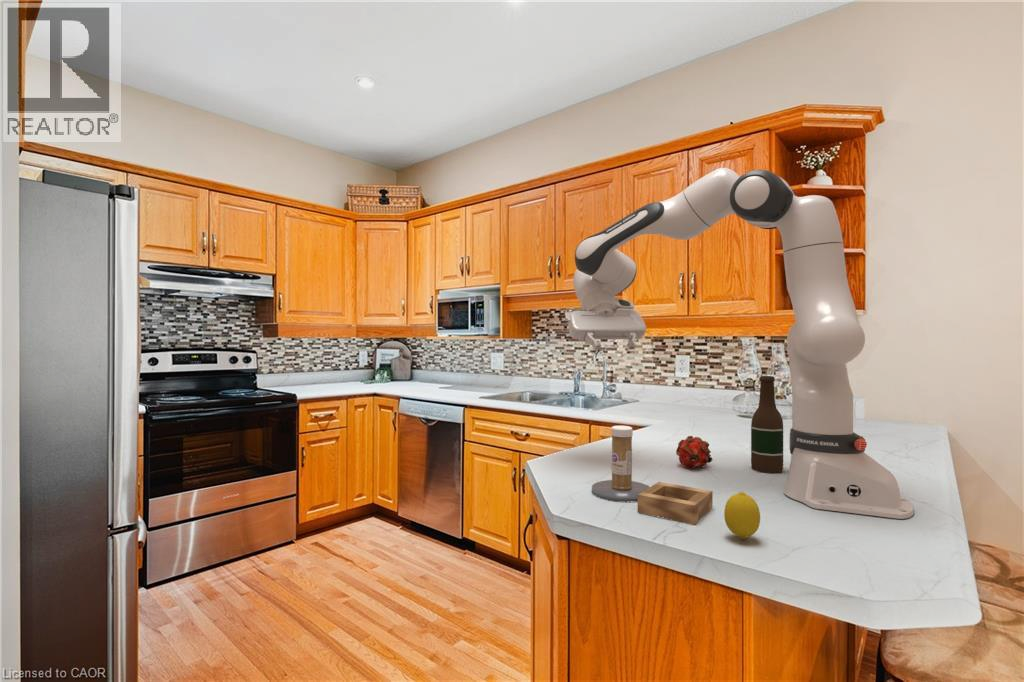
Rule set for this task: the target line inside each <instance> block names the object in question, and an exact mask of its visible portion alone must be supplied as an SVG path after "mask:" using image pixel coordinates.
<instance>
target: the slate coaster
mask: <svg viewBox="0 0 1024 682" xmlns="http://www.w3.org/2000/svg"><path fill="white" fill-rule="evenodd" d="M611 484H612V479H606V480H600V481H597V482H595V483H593V484H591V493H592V495H593V496H595V495H596V496H595V497H596V498H599V497H600V499H602V498H603V499H602V500H605V499H608V500H607V501H610V500H613V501H612V502H617V501H625V502H624V503H631V502H630V501H638V494H639V493H641V492H643V491H644V490H646V489H648V488H649V487H650V485H648V484H645V483H642V482H638V481H633V480H632V488H631V489H629V490H616V489H614V488H612V486H611ZM627 501H629V502H627Z"/></svg>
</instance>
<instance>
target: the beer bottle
mask: <svg viewBox="0 0 1024 682" xmlns="http://www.w3.org/2000/svg"><path fill="white" fill-rule="evenodd" d="M759 381H760V383H759V384H760V386H759V388H760V389H759V399H758V400H759V402H758V406H757V407H758V408H757V409H756V410H755V411H754V412H753V415H752V418H751V423H750V425H751V426H750V433H751V434H750V464H751V465H750V466H751V470H753V471H756V472H758V473H763V474H773V475H774V474H781V473H782V472H783V470H784V420H783V417H782V415H781V413H780V411H779V410H778V408H777V406H776V396H775V381H776V379H775V376H773V375H762V376H760V378H759Z"/></svg>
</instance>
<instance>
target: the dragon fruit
mask: <svg viewBox="0 0 1024 682" xmlns="http://www.w3.org/2000/svg"><path fill="white" fill-rule="evenodd" d="M709 447H710V443H709V442H708V441H706V440H703V439H702V438H701V437H699V436H698V437H697V436H695V437H694V436H693V435H687V437H685V439H681V440H680V441H679V442H678V443H677V448H676V450H675V452H676V453H675V454H676V456H678V461H679V463H680V464H683V466H684V467H685V468H686V469H687V470H692V469H694V468H695V467H698V468H704V467H705V466H706V465H707V464H709V463H711V462H712V461H713V458H712V455H711V454H710V453H711V452H712V451H711V450H710V448H709Z"/></svg>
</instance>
